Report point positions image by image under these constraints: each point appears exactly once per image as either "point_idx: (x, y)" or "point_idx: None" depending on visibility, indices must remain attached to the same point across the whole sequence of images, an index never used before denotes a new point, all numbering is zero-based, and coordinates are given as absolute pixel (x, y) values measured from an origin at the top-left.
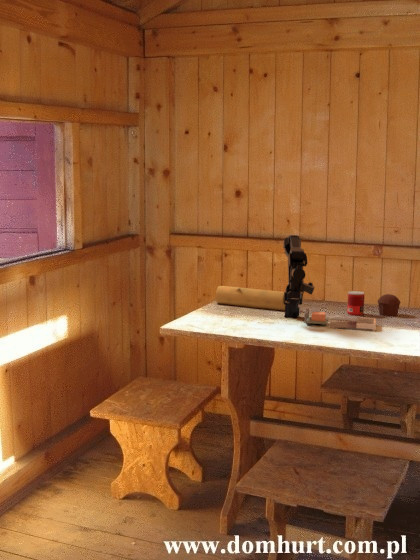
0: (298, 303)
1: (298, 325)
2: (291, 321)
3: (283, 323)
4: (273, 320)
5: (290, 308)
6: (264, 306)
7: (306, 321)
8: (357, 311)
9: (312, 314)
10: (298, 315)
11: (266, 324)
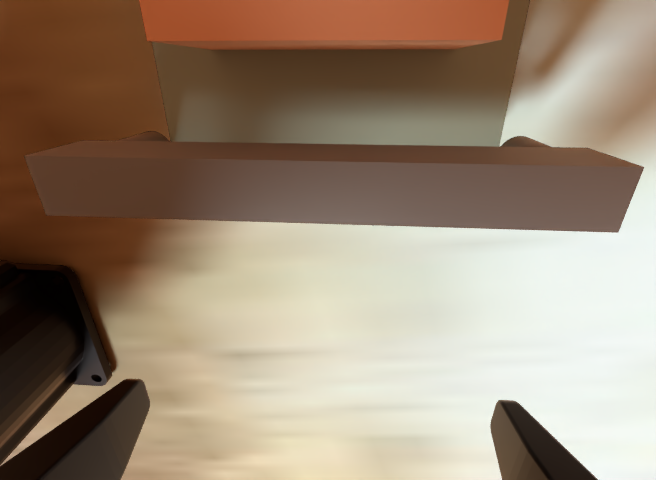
0: (51, 466)
1: (480, 229)
2: (271, 310)
3: (398, 371)
4: (288, 439)
5: (5, 417)
6: None
7: (497, 140)
8: None
9: (503, 17)
10: (10, 269)
11: (473, 475)
